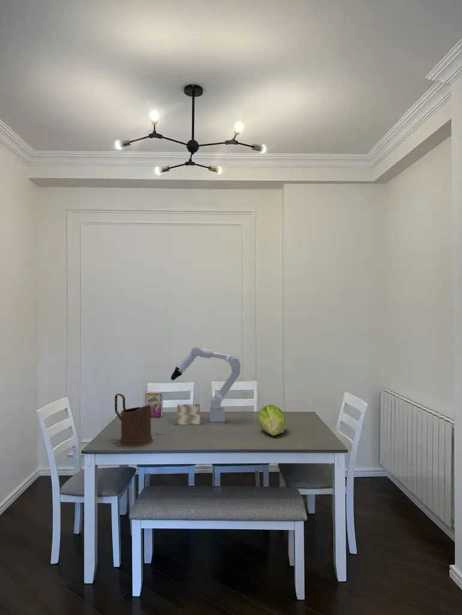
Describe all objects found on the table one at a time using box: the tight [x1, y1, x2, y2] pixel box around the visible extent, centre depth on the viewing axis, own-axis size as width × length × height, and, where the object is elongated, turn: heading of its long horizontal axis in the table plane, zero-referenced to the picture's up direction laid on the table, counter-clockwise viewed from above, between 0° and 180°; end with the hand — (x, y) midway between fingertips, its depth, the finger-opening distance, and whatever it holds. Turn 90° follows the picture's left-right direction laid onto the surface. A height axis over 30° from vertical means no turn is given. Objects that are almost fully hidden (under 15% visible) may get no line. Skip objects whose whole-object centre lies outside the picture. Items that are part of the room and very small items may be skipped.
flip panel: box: [176, 403, 201, 426], centre depth 297 cm, size 14×1×12 cm, turn 96°
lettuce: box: [257, 404, 287, 436], centre depth 279 cm, size 15×25×16 cm
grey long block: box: [174, 420, 204, 426], centre depth 296 cm, size 17×2×3 cm, turn 96°
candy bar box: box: [144, 391, 164, 418], centre depth 324 cm, size 11×5×16 cm, turn 84°
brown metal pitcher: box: [114, 393, 154, 447], centre depth 264 cm, size 18×24×25 cm
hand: (172, 378), depth 305 cm, fingers open, 7 cm apart
